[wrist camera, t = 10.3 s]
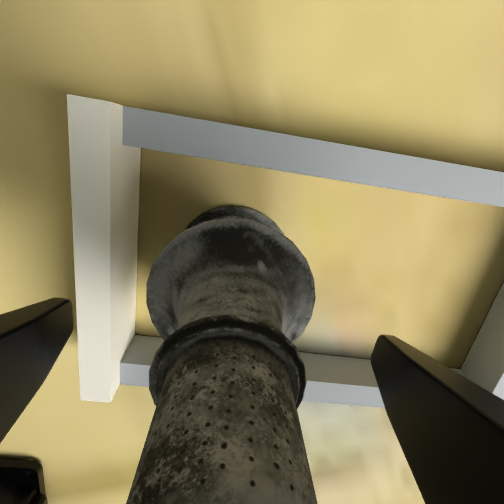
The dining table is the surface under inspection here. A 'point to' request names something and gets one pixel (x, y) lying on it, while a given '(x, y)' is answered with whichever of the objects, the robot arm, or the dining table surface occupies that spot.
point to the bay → (240, 152)
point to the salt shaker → (227, 366)
